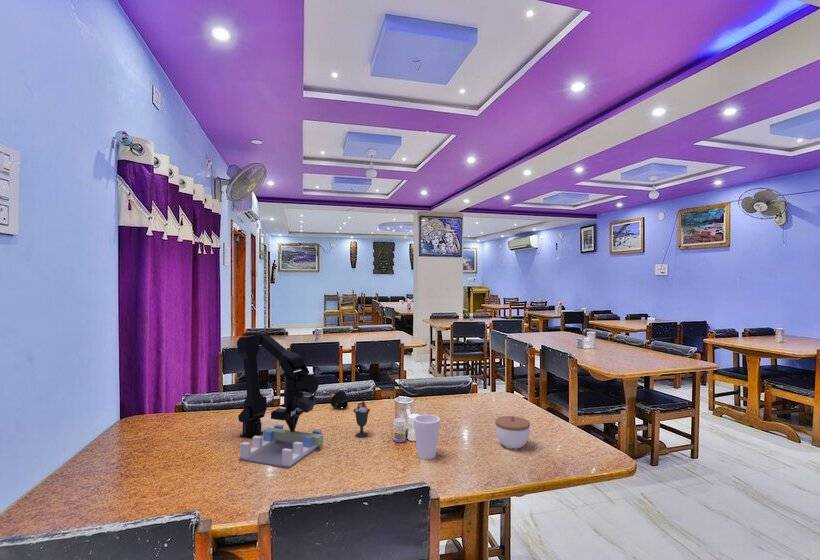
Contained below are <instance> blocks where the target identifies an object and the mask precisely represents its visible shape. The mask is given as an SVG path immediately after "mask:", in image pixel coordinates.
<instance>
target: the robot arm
mask: <svg viewBox="0 0 820 560" xmlns="http://www.w3.org/2000/svg"><path fill="white" fill-rule="evenodd" d="M260 347H262V348H263V349H264V350H265V351H267V353H269V354H270V355H271V356H273V357H274V358H275V359H276V360H277V361H278V366H279V367H280V368H281V369H282V370H283V373H281V375H280V378H284V392H282V394H281V395H282V397H284V403H283V404H281V405H282V406H281V407H278V408H276V409H274V410H272V411H271V412H270V419H271V420H276V421H278V420H279V421H285V423H286V425H287V427H288V430H290V431H291V432H294V431H296V429H297V428H296V427H297V424H298V422H299V419H300V416H302V414H303V413H307V414H308V413H309V412H311V411H313V409H314V406H315V405H317V396H316V395H314V394H315V393H317V391H318V389H319V386H320V382H319V380H318V378H317V377H316V374H315V373H310V370H309V369H308V367H307V364H306V362H305V361H304V358H303V356H301V355H299V354H298V353H296V352H293V351H290V350H288V349H286V348H285V347H284V346H283V345H281V344H280V343H279V342H278V341H277V340H276V339H274V338H273V337H272V336H271V335H270V333H268V332H262V333H257V334H253V335H246V336H245V335H244V336H240V337H239V338H238V340H237V341H236V349H237V353H238V354H239V356H240V357H241V358H242V359H243V367H244V370H243V371H244V378H245V388H246V389H245V390H246V397H245V399H244V402H243V409H242V411H241V412H240V414H238V416H237V418H238V422H240V423H242V433H240V434H239V437H242V438H248V439H253V437H254V436H260V435H262V434H263V432H264V430H263V431H262V421H261V419H262V418H264V417H265V415H266V412H267V408H268V403H267V401H268V400H267V398H268V397H266V396H264V395H263V394H262V393H261V387H260V377H259V376H260V375H259V367H258V359H257V356H258V355H259V352H260V349H261V348H260ZM305 393H308V394H311V395H310V396H305Z"/></svg>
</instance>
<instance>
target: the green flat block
mask: <svg viewBox="0 0 820 560" xmlns="http://www.w3.org/2000/svg"><path fill="white" fill-rule="evenodd" d="M265 430H271V431H273V439H274V440H281V441H288V442H302V443H303V437H304V436H305V435H306V436H313V445H315V446H319V445H321V444H322V445H323V443H324V434H322V435H321V434H313V433H312V432H305V431H297V430H295V431H294V432H291V431H290V429H284V428H283V429H277V428H274V427H267V428H265V429H263V433H262V434H263V436H262V439H264V431H265ZM322 445H321V446H322Z"/></svg>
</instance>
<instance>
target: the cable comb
mask: <svg viewBox="0 0 820 560" xmlns="http://www.w3.org/2000/svg"><path fill="white" fill-rule="evenodd" d="M273 428H277V429H284V425H282V424H275V425H274V426H273ZM263 432H264V438H263V436H260V435H258V436H254V437H253V438H252V442H247V441H243V442H241V443H240V446H239V448H240V455H239V456H240V457H239V458H238V461H242V462H246V463H247V462H248V463H254V464H258V465H259V464H260V465H265V466H271V467H277V468H282V469H287V470H288V469H291V468H292V467H293V466H295V465H296V464H297V463H299V462H300V461H302V460H303V459H305V458H306V457H307V456H308V455H310V454H312V453H313V452H314V451H316V450H317V449H318V448H320V447H321V446H322V445H323V443H322V444H321V445H319V446H315V445H313V436H306V435H305V436H304V437H303V443H302V442H288V441H281V440H274V439H273V431H271V430H265V431H264V430H263ZM322 432H323V431H322V430H320V429H313V430H312V431H311V433H313V434H321V435H323V434H322Z"/></svg>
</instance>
